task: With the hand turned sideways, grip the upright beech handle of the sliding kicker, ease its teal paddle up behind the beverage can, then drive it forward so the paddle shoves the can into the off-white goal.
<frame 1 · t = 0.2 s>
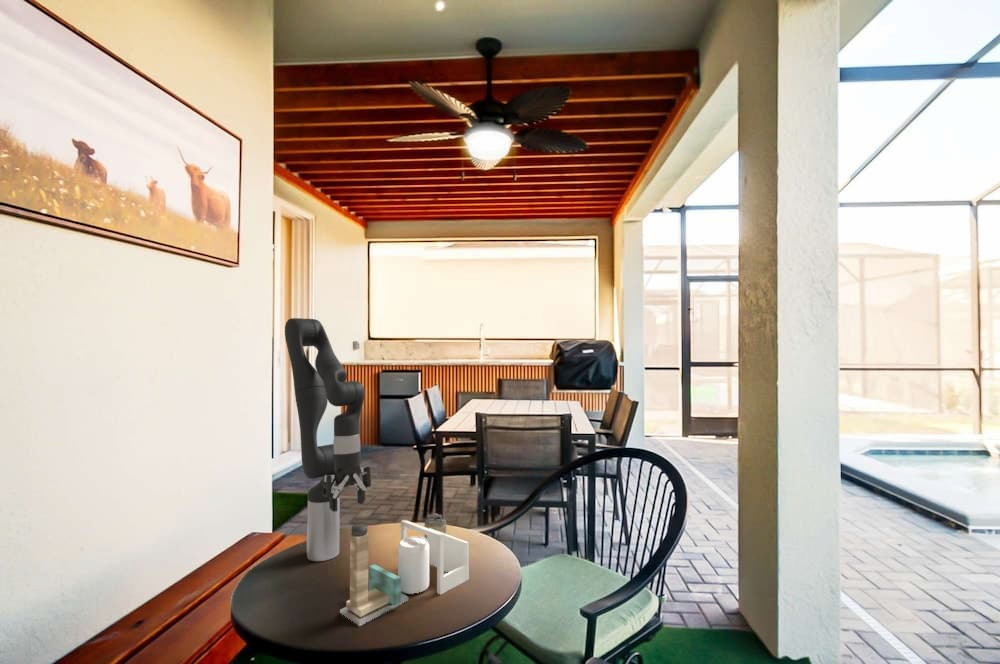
hand: (347, 507, 134), 17 cm above the table, tool pointing down, fingers open, 8 cm apart
white flat board: (375, 607, 113), on the table
lighter: (435, 547, 148), on the table
kicker rod: (370, 563, 113), point 11 cm above the table, slide at 0.0 cm
goal: (433, 577, 128), on the table
beverage can: (413, 588, 123), on the table
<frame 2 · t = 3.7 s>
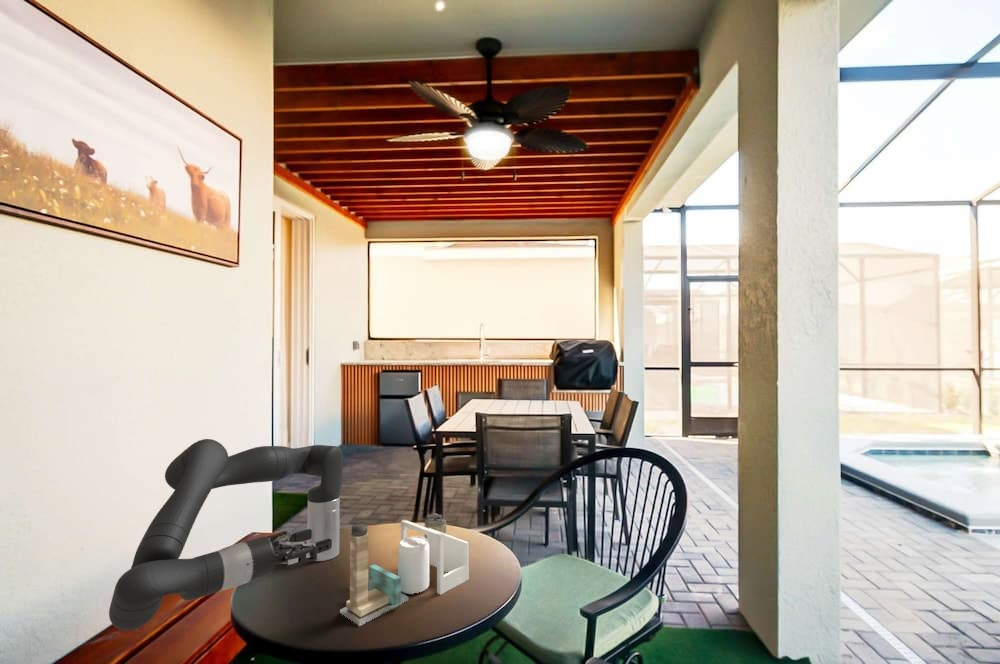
hand: (320, 538, 103), 21 cm above the table, tool horizontal, fingers open, 8 cm apart
nothing on the table moved.
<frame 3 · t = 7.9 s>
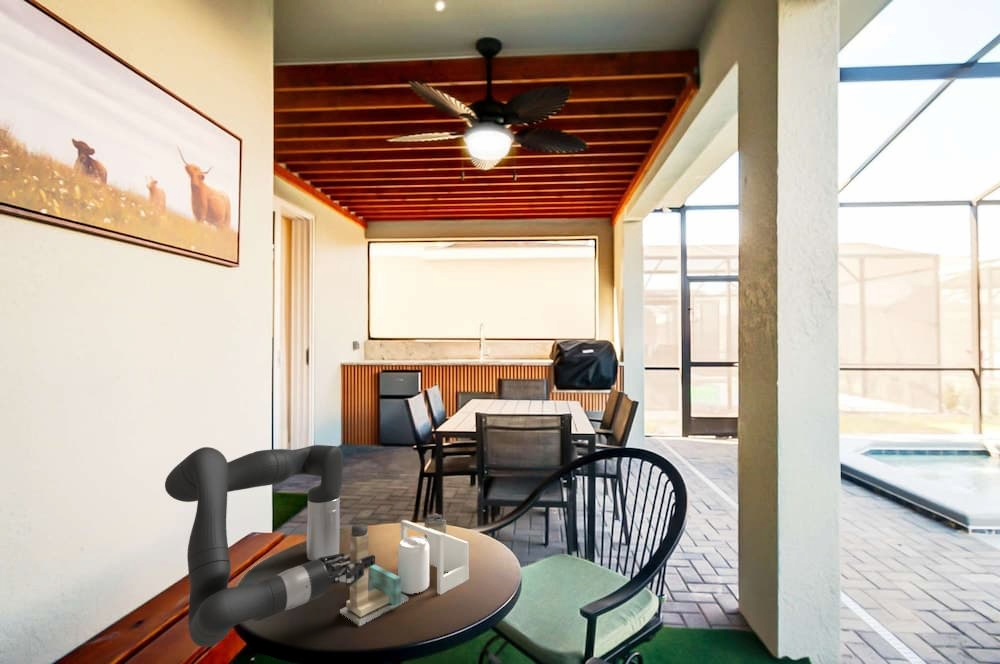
hand: (369, 557, 113), 12 cm above the table, tool horizontal, fingers closed on kicker rod, 3 cm apart
kicker rod: (370, 563, 113), point 11 cm above the table, slide at 0.0 cm, touching gripper
everything else where it was.
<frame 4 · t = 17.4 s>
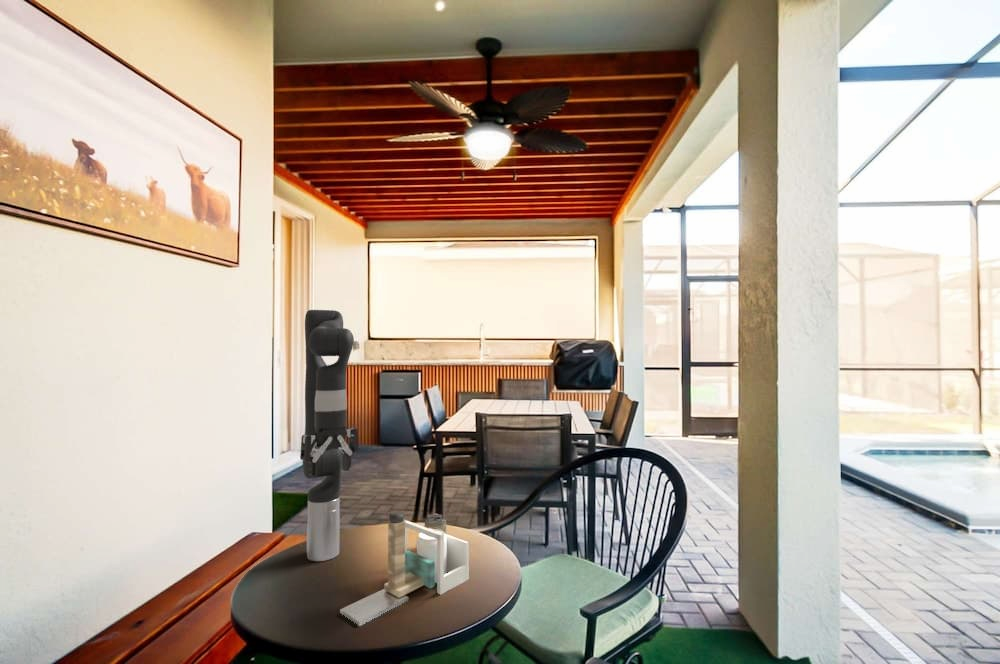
hand: (330, 473, 115), 32 cm above the table, tool pointing down, fingers open, 8 cm apart
kicker rod: (406, 548, 121), point 11 cm above the table, slide at 10.9 cm
beverage can: (431, 579, 128), on the table
everything else where it was.
at the end: beverage can inside the target area (1.4 cm from its centre), on the table; kicker rod slide at 10.9 cm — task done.
